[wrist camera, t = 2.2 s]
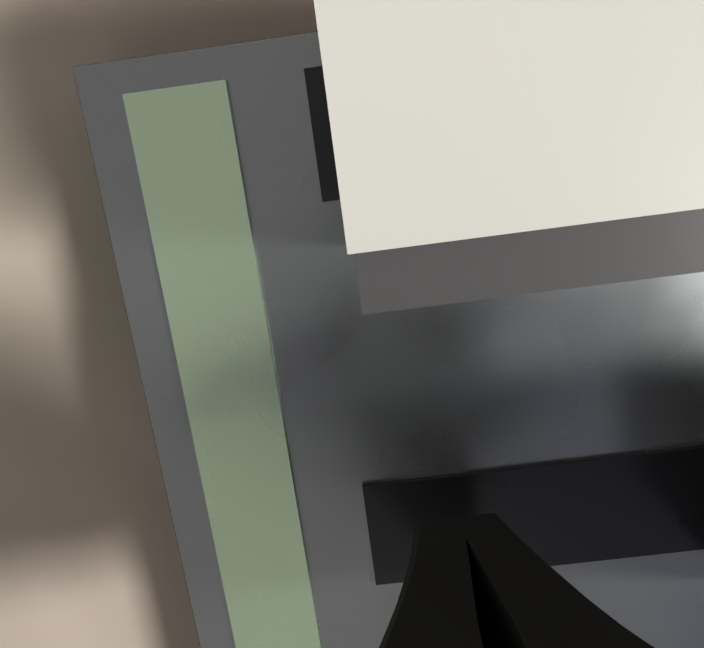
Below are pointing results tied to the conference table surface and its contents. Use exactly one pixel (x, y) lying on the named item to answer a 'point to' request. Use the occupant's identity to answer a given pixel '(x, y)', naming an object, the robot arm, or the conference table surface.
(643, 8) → the block
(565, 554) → the panel
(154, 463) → the conference table surface
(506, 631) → the robot arm
